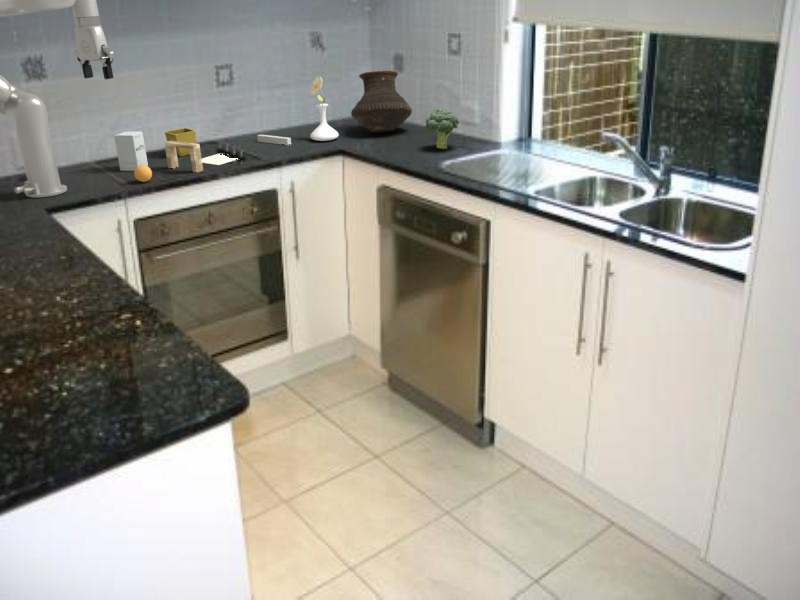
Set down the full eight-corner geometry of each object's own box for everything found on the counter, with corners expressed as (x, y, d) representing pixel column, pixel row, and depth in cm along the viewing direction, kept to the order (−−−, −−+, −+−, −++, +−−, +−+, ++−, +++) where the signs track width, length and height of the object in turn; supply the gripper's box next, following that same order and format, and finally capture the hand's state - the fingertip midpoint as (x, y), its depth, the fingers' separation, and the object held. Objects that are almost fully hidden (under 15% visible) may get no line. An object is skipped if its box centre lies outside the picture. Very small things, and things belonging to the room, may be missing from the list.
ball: (143, 184, 258) (140, 168, 256) (132, 182, 261) (129, 166, 259) (156, 180, 262) (153, 164, 260) (145, 178, 265) (142, 162, 263)
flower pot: (178, 158, 292) (174, 134, 288) (167, 155, 298) (164, 131, 294) (199, 154, 297) (196, 130, 293) (188, 151, 303) (185, 127, 299)
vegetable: (451, 143, 295) (450, 103, 289) (464, 150, 284) (464, 108, 278) (421, 147, 292) (420, 106, 286) (433, 154, 281) (432, 112, 275)
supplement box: (138, 171, 276) (132, 135, 271) (119, 170, 277) (113, 135, 272) (149, 166, 283) (142, 131, 278) (130, 165, 284) (124, 131, 279)
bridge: (196, 172, 270) (192, 145, 267) (168, 168, 278) (164, 142, 274) (203, 170, 272) (199, 144, 269) (174, 166, 280) (170, 140, 276)
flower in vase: (310, 137, 316) (304, 74, 306) (338, 136, 317) (333, 72, 307) (310, 144, 304) (304, 78, 294) (339, 142, 305) (335, 76, 295)
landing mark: (218, 165, 279) (218, 164, 279) (193, 161, 286) (193, 161, 286) (244, 157, 289) (244, 156, 289) (219, 154, 296) (219, 153, 295)
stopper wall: (287, 145, 305) (287, 138, 304) (257, 141, 313) (257, 135, 312) (291, 144, 306) (290, 137, 305) (261, 140, 315) (260, 134, 314)
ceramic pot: (352, 127, 302) (348, 68, 301) (352, 137, 326) (348, 83, 325) (415, 123, 303) (411, 65, 302) (410, 134, 328) (407, 79, 326)
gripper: (60, 24, 249) (71, 79, 256) (96, 23, 240) (107, 81, 247) (79, 21, 255) (90, 75, 261) (115, 21, 246) (126, 77, 253)
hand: (99, 78), depth 254 cm, fingers open, 9 cm apart
